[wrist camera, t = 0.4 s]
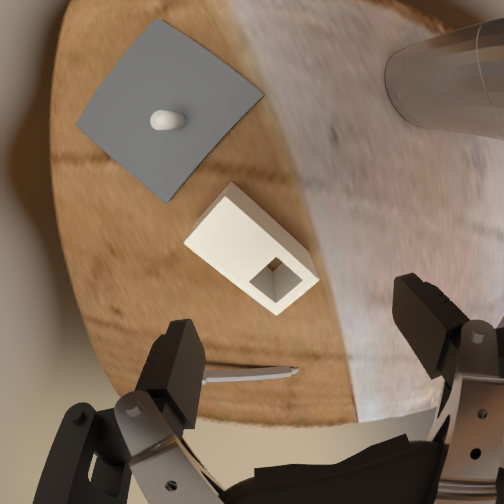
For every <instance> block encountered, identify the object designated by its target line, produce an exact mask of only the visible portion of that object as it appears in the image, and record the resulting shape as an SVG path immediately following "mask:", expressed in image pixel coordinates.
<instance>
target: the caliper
mask: <svg viewBox="0 0 504 504" xmlns="http://www.w3.org/2000/svg"><path fill="white" fill-rule="evenodd" d="M298 370H299V367H294V368H290V367H282V366H278V367H267V368H254V369H235V370H205V368H204V373H203V379H202V384H206V382H225V381H247V380H261V379H272V378H282V377H290V376H291V374H295V373H297V372H298Z"/></svg>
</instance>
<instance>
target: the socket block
mask: <svg viewBox="0 0 504 504" xmlns="http://www.w3.org/2000/svg"><path fill="white" fill-rule="evenodd" d="M184 244H185V245H186V246H187V247H189V248H190V249H191V250H192V251H194V252H195V253H196V254H197V255H199V256H200V257H201V258H202V259H204V260H205V261H206V262H207V263H209V264H210V265H211V266H212V267H214V268H215V269H216V270H217V271H219V272H220V273H221V274H222V275H224V276H225V277H226V278H228V279H229V280H230V281H231V282H233V283H234V284H235V285H237V286H238V287H239V288H240V289H242V290H243V291H244V292H246V293H247V294H248V295H250V296H251V297H252V298H253V299H255V300H256V301H257V302H259V303H260V304H261V305H263V306H264V307H265V308H267V309H268V310H269V311H271V312H272V313H273V314H275V315H276V316H277V315H278V314H279V313H281V312H282V311H283V310H284V309H286V308H287V307H288V306H289V305H290V304H292V303H293V302H294V301H295V300H297V299H298V298H299V297H300V296H301V295H303V294H304V293H305V292H306V291H307V290H309V289H310V288H311V287H312V286H313V285H314V284H316V283H317V282H318V281H319V278H318V275H317V272H316V270H315V267H314V265H313V262H312V259H311V257H310V254H309V252H308V251H307V250H306V249H305V248H304V247H303V246H302V245H301V244H300V243H299V242H298V241H297V240H296V239H295V238H294V237H292V236H291V235H290V234H289V233H288V232H287V231H286V230H285V229H284V228H283V227H282V226H281V225H280V224H278V223H277V222H276V221H275V220H274V219H273V218H272V217H271V216H270V215H269V214H267V213H266V212H265V211H264V210H263V209H262V208H261V207H260V206H259V205H258V204H256V203H255V202H254V201H253V200H252V199H251V198H250V197H249V196H247V195H246V194H245V193H244V192H243V191H242V190H241V189H240V188H238V187H237V186H236V185H235V184H234V183H233V182H231V183H230V184H229V185H228V186H227V187H226V188H225V189H224V190H223V191H222V192H221V194H220V195H219V196H218V197H217V198H216V199H215V200H214V201H213V202H212V204H211V205H210V206H209V207H208V208H207V209H206V210H205V211H204V213H203V214H202V215H201V216H200V217H199V218H198V219H197V221H196V222H195V224H194V226H193V227H192V229H191V231H190V233H189V234H188V236H187V238H186V239H185V241H184ZM275 257H277V258H278V259H280V260H281V261H282V263H281V264H280V265H279V266H278V267H277V268H276V269H275V270H274V271H271V270H270V269H269V268H268V267H267V265H268V264H269V263H270V262H271V261H272V260H273V259H274V258H275Z"/></svg>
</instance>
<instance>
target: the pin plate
mask: <svg viewBox="0 0 504 504" xmlns="http://www.w3.org/2000/svg"><path fill="white" fill-rule="evenodd" d="M263 96H264V94H263V93H262V92H260V91H259V90H258V89H257V88H256V87H254V86H253V85H252V84H251V83H250V82H248V81H247V80H246V79H245V78H243V77H242V76H241V75H240V74H238V73H237V72H236V71H235V70H233V69H232V68H231V67H229V66H228V65H227V64H226V63H224V62H223V61H222V60H220V59H219V58H217V57H216V56H215V55H213V54H212V53H211V52H209V51H208V50H206V49H205V48H204V47H202V46H201V45H199V44H198V43H196V42H195V41H193V40H192V39H190V38H189V37H187V36H186V35H184V34H183V33H181V32H180V31H178V30H176V29H175V28H173V27H172V26H170V25H168V24H167V23H165V22H163V21H162V20H160V19H158V18H156V19H155V20H154V21H153V22H152V23H151V24H150V25H149V26H148V27H147V28H146V30H145V31H144V32H143V33H142V34H141V35H140V36H139V37H138V38H137V39H136V41H135V42H134V43H133V44H132V45H131V46H130V48H129V49H128V50H127V51H126V52H125V54H124V55H123V56H122V57H121V58H120V60H119V61H118V62H117V64H116V65H115V66H114V67H113V69H112V70H111V71H110V73H109V74H108V75H107V77H106V78H105V80H104V81H103V82H102V84H101V85H100V87H99V88H98V90H97V91H96V93H95V94H94V96H93V97H92V99H91V100H90V102H89V103H88V105H87V107H86V108H85V110H84V111H83V113H82V115H81V116H80V118H79V120H78V121H77V123H76V126H77V127H78V128H79V129H80V130H81V131H82V132H83V133H85V134H86V135H87V136H88V137H89V138H90V139H91V140H93V141H94V142H95V143H96V144H97V145H98V146H99V147H101V148H102V149H103V150H104V151H105V152H106V153H107V154H109V155H110V156H111V157H112V158H113V159H114V160H116V161H117V162H118V163H119V164H120V165H121V166H123V167H124V168H125V169H126V170H127V171H128V172H130V173H131V174H132V175H133V176H134V177H135V178H137V179H138V180H139V181H140V182H141V183H142V184H144V185H145V186H146V187H147V188H148V189H150V190H151V191H152V192H153V193H154V194H155V195H157V196H158V197H159V198H160V199H161V200H163V201H164V202H165V203H166V204H167V203H168V202H169V201H170V200H171V198H172V197H173V196H174V195H175V193H176V192H177V191H178V190H179V188H180V187H181V186H182V185H183V184H184V182H185V181H186V180H187V179H188V177H189V176H190V175H191V174H192V173H193V172H194V170H195V169H196V168H197V167H198V166H199V164H200V163H201V162H202V161H203V160H204V159H205V158H206V156H207V155H208V154H209V153H210V152H211V151H212V150H213V149H214V147H215V146H216V145H217V144H218V143H219V142H220V141H221V140H222V139H223V137H224V136H225V135H226V134H227V133H228V132H229V131H230V130H231V129H232V128H233V127H234V126H235V125H236V124H237V123H238V122H239V120H240V119H241V118H242V117H243V116H244V115H245V114H246V113H247V112H248V111H249V110H250V109H251V108H252V107H253V106H254V105H255V104H256V103H257V102H258V101H259V100H260V99H261V98H262V97H263Z"/></svg>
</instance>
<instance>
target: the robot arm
mask: <svg viewBox="0 0 504 504" xmlns="http://www.w3.org/2000/svg"><path fill="white" fill-rule="evenodd" d="M385 83H386V88H387V92H388V95H389V97H390V99H391V102H392V104H393V105H394V107H395V108H396V110H397V111H398V112H399V113H400V114H401V115H402V116H403V117H404V118H405V119H406V120H407V121H409V122H410V123H412V124H414V125H416V126H419V127H423V128H431V129H440V130H447V131H454V132H461V133H467V134H473V135H479V136H484V137H489V138H494V139H499V140H503V141H504V18H500V19H495V20H491V21H487V22H484V23H479V24H476V25H472V26H468V27H465V28H462V29H458V30H455V31H452V32H449V33H446V34H443V35H440V36H437V37H434V38H431V39H429V40H426V41H423V42H421V43H418V44H415V45H413V46H410V47H408V48H406V49H403V50H401V51H399V52H397V53H395V54H394V55H393V56H392V57H391V58H390V60H389V61H388V63H387V66H386V71H385ZM392 314H393V319H394V322H395V324H396V325H397V327H398V328H399V330H400V331H401V333H402V334H403V336H404V337H405V339H406V340H407V342H408V343H409V345H410V346H411V348H412V349H413V351H414V353H415V354H416V356H417V357H418V359H419V360H420V362H421V364H422V365H423V367H424V368H425V370H426V372H427V373H428V375H429V377H430V378H431V380H432V379H434V378H436V377H439V376H441V375H442V376H443V378H444V381H443V383H442V387H441V393H440V397H439V402H438V406H437V411H436V415H435V419H434V422H433V426H432V428H431V431H430V433H429V435H428V438H427V440H426V441H421V440H419V441H409V440H408V438H407V435H406V434H403V435H400V436H398V437H395V438H392V439H389V440H387V441H384V442H381V443H378V444H375V445H372V446H370V447H368V448H366V449H364V450H363V451H361V452H359V453H357V454H356V455H353V456H351V457H350V458H347V459H345V460H343V461H342V462H339V463H337V464H333V465H308V464H307V465H306V464H288V465H281V466H274V467H263V468H255V469H254V473H255V474H254V475H255V476H254V477H252V478H249V479H246V480H244V481H241V482H239V483H237V484H235V485H233V486H231V487H230V488H228V489H227V490H225V489H224V488H223V487H222V486H221V484H220V483H219V482H218V481H217V480H216V479H215V478H214V477H213V476H212V475H211V474H210V472H209V471H208V470H207V469H206V468H205V467H204V465H203V464H202V463H201V461H200V460H199V459H198V457H197V456H196V455H195V453H194V452H193V451H192V449H191V448H190V447H189V445H188V444H187V442H186V441H185V440H184V438H183V437H182V436H183V430H184V429H195V423H196V416H197V410H198V404H199V398H200V391H201V385H202V379H203V373H204V368H205V352H204V348H203V346H202V343H201V341H200V339H199V336H198V334H197V331H196V329H195V326H194V324H193V322H192V320H191V319H182V320H175V321H171V322H170V324H169V327H168V329H167V332H166V334H164V335H161V336H160V337H159V338H158V339H157V340H156V341H155V342H154V343H153V345H152V348H151V350H150V352H149V355H148V357H147V360H146V363H145V365H144V367H143V370H142V372H141V375H140V378H139V380H138V383H137V385H136V388H135V391H131V392H128V393H126V394H125V395H123V396H122V397H121V398H120V399H119V400H118V401H117V403H116V404H115V407H114V408H111V409H106V410H102V411H97V412H96V410H95V409H94V408H93V407H92V406H91V405H90V404H88V403H84V402H83V403H77V404H75V405H73V406H72V407H71V408H69V409H68V411H67V412H66V413H65V415H64V418H63V420H62V422H61V425H60V427H59V430H58V432H57V434H56V437H55V439H54V442H53V444H52V447H51V449H50V452H49V455H48V457H47V460H46V463H45V466H44V469H43V472H42V475H41V478H40V481H39V484H38V487H37V490H36V493H35V497H34V501H33V504H127V498H128V491H129V486H130V480H131V475H132V473H133V475H134V477H135V479H136V481H137V483H138V485H139V487H140V489H141V491H142V492H143V494H144V496H145V498H146V500H147V501H148V503H149V504H504V468H501V467H499V464H500V459H501V453H502V446H503V438H504V327H503V328H497V329H494V328H493V326H492V325H490V324H489V323H487V322H485V321H482V320H470V319H469V318H468V317H467V316H466V315H465V314H464V313H463V312H462V311H461V310H460V309H459V308H458V307H457V306H456V305H455V304H454V303H453V302H452V301H450V299H449V298H448V297H447V296H446V295H444V293H443V292H442V291H441V290H440V289H439V288H438V287H436V286H434V285H432V284H430V283H428V282H423V281H422V280H421V279H420V278H419V277H418V276H417V275H416V274H414V273H409V274H406V275H402V276H398V277H396V278H395V280H394V292H393V306H392ZM93 454H95V455H96V456H97V459H96V463H95V466H94V470H93V474H92V478H91V482H90V481H89V478H88V471H89V468H90V464H91V461H92V457H93Z"/></svg>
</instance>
